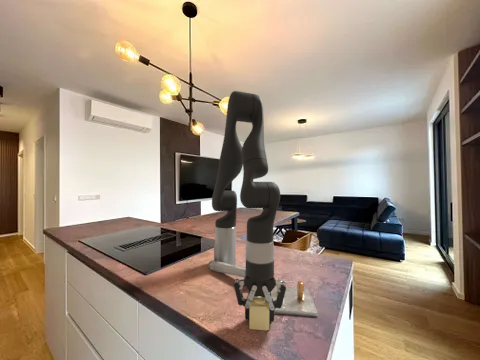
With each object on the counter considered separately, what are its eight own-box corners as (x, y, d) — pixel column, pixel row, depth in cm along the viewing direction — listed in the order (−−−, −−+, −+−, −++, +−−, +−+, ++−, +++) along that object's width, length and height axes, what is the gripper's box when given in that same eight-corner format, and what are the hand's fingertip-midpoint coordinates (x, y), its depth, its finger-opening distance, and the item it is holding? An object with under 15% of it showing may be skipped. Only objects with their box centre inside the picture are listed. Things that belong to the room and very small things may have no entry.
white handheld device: (215, 258, 91) (262, 265, 74) (217, 273, 90) (264, 285, 74) (206, 261, 87) (253, 270, 70) (207, 278, 86) (255, 290, 70)
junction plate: (256, 312, 59) (256, 291, 59) (257, 288, 72) (257, 271, 72) (317, 316, 57) (317, 295, 57) (307, 291, 70) (307, 273, 70)
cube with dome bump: (249, 328, 52) (249, 303, 52) (250, 316, 57) (250, 292, 57) (269, 330, 52) (269, 304, 52) (268, 317, 57) (268, 293, 57)
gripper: (230, 261, 52) (230, 328, 52) (289, 263, 50) (288, 333, 50) (235, 250, 59) (234, 310, 59) (285, 253, 58) (285, 314, 58)
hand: (259, 320), depth 55 cm, fingers closed on cube with dome bump, 5 cm apart
